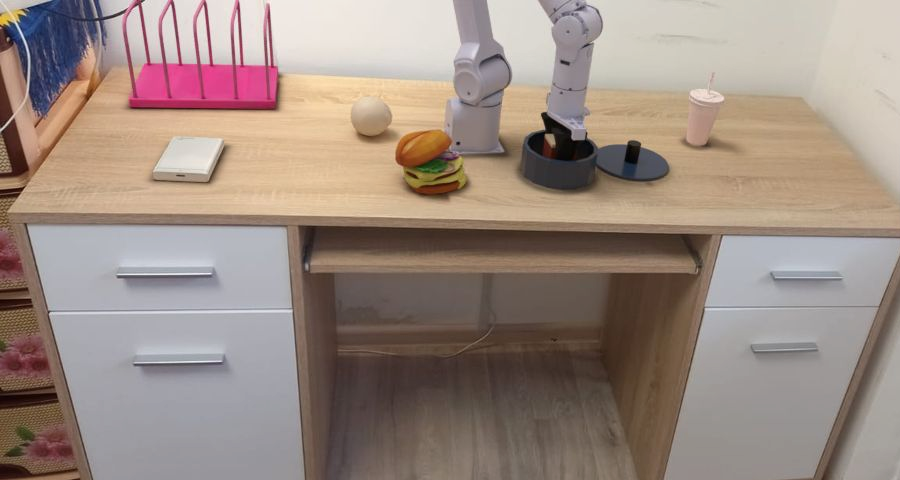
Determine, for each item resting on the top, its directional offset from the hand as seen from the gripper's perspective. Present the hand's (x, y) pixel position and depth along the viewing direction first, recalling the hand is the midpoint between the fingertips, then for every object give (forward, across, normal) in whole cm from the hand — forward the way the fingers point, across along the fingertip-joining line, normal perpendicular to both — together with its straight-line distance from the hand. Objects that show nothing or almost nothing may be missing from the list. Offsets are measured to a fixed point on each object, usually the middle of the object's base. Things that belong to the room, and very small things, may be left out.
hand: (558, 161), depth 139 cm
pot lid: (+2, +2, -14) cm, 15 cm away
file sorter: (+3, +39, +57) cm, 69 cm away
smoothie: (+3, +10, -31) cm, 33 cm away
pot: (+3, 0, 0) cm, 3 cm away
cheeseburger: (+3, -1, +22) cm, 22 cm away
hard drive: (+3, +9, +59) cm, 60 cm away
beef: (+2, 0, 0) cm, 2 cm away
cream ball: (+3, +18, +29) cm, 34 cm away
